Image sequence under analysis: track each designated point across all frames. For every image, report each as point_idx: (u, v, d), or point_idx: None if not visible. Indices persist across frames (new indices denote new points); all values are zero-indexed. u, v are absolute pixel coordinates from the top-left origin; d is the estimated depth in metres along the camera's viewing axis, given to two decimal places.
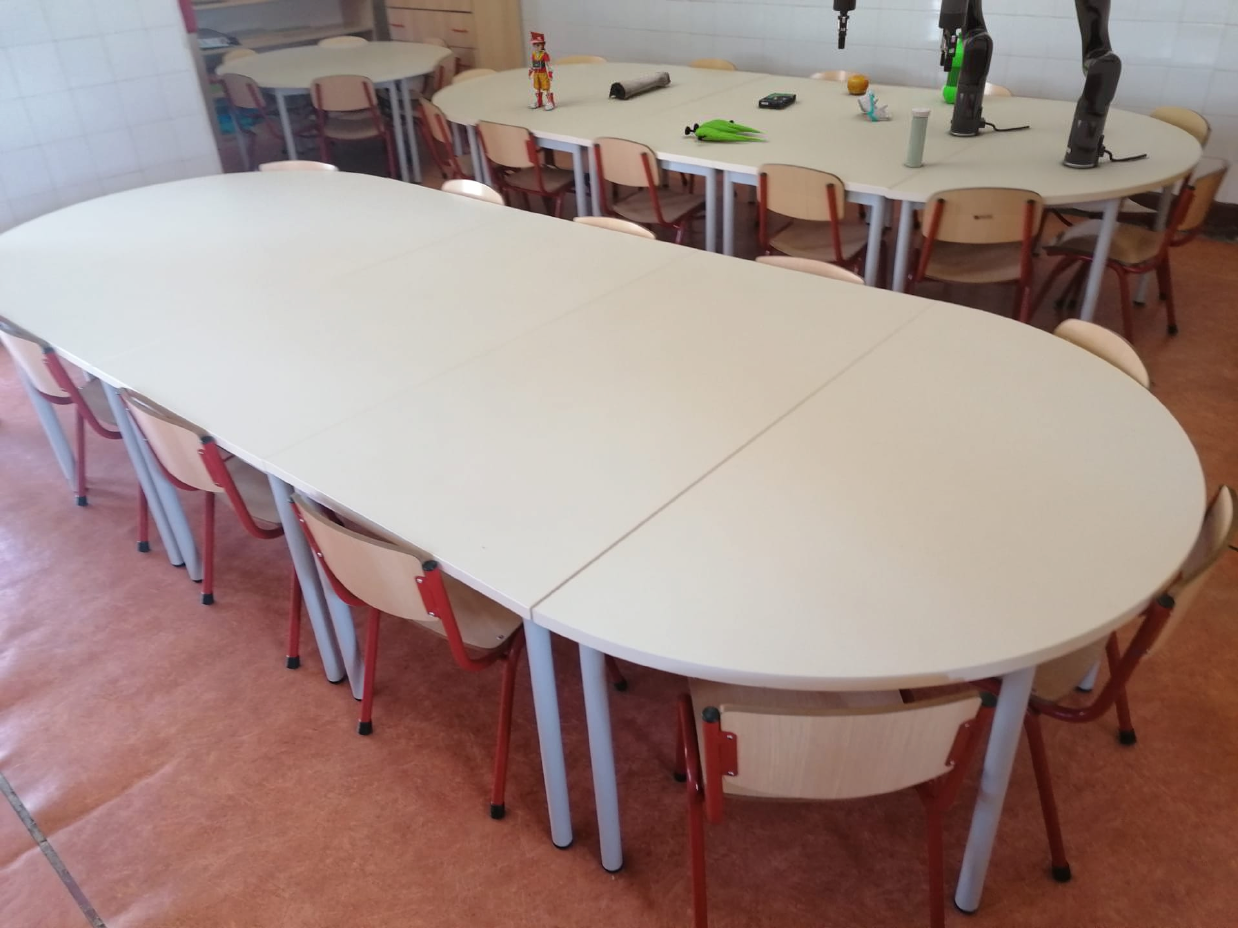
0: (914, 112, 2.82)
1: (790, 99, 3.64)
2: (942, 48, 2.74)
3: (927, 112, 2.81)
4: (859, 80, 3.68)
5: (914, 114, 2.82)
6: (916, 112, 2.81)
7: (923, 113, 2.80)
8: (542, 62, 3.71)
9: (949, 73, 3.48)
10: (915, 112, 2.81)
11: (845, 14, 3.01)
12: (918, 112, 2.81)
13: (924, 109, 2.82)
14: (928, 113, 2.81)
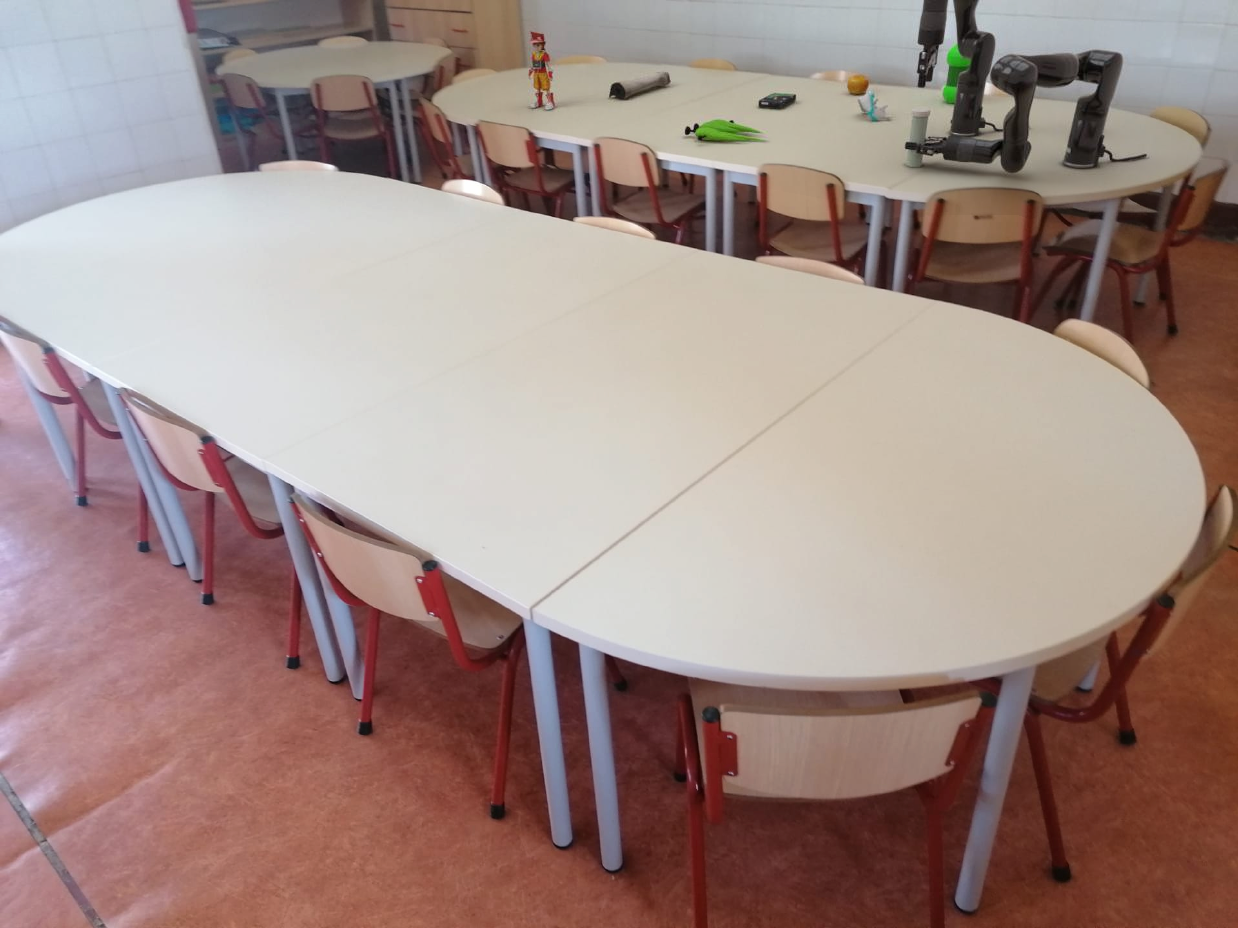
0: (914, 112, 2.82)
1: (790, 99, 3.64)
2: (922, 150, 2.86)
3: (927, 112, 2.81)
4: (859, 80, 3.68)
5: (914, 114, 2.82)
6: (916, 112, 2.81)
7: (923, 113, 2.80)
8: (542, 62, 3.71)
9: (949, 73, 3.48)
10: (915, 112, 2.81)
11: None
12: (918, 112, 2.81)
13: (924, 109, 2.82)
14: (928, 113, 2.81)
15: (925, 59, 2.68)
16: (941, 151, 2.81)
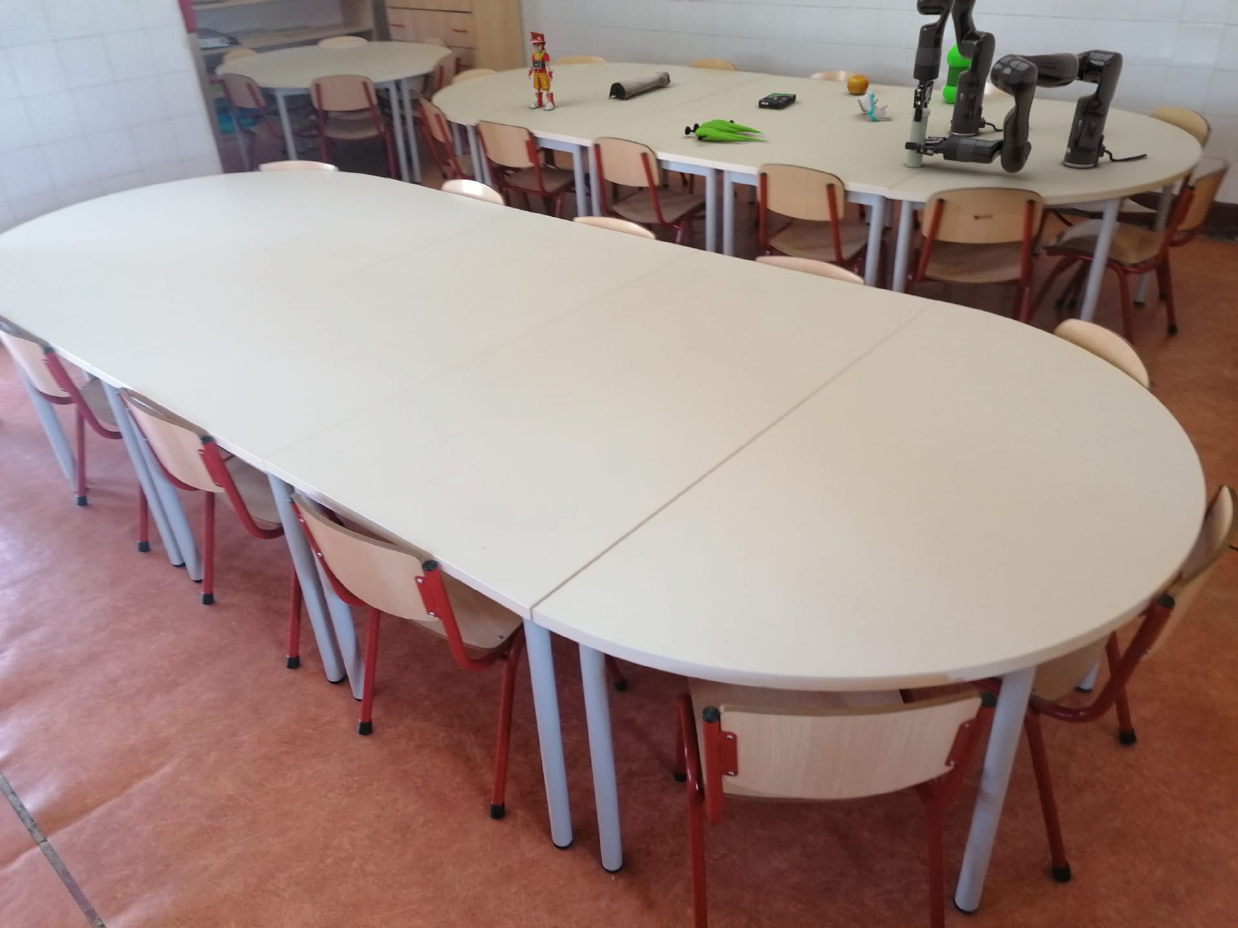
0: (914, 112, 2.82)
1: (790, 99, 3.64)
2: (922, 150, 2.86)
3: (927, 112, 2.81)
4: (859, 80, 3.68)
5: (914, 114, 2.82)
6: None
7: (923, 113, 2.80)
8: (542, 62, 3.71)
9: (949, 73, 3.48)
10: None
11: None
12: None
13: (924, 109, 2.82)
14: (928, 113, 2.81)
15: (920, 96, 2.74)
16: (941, 151, 2.81)
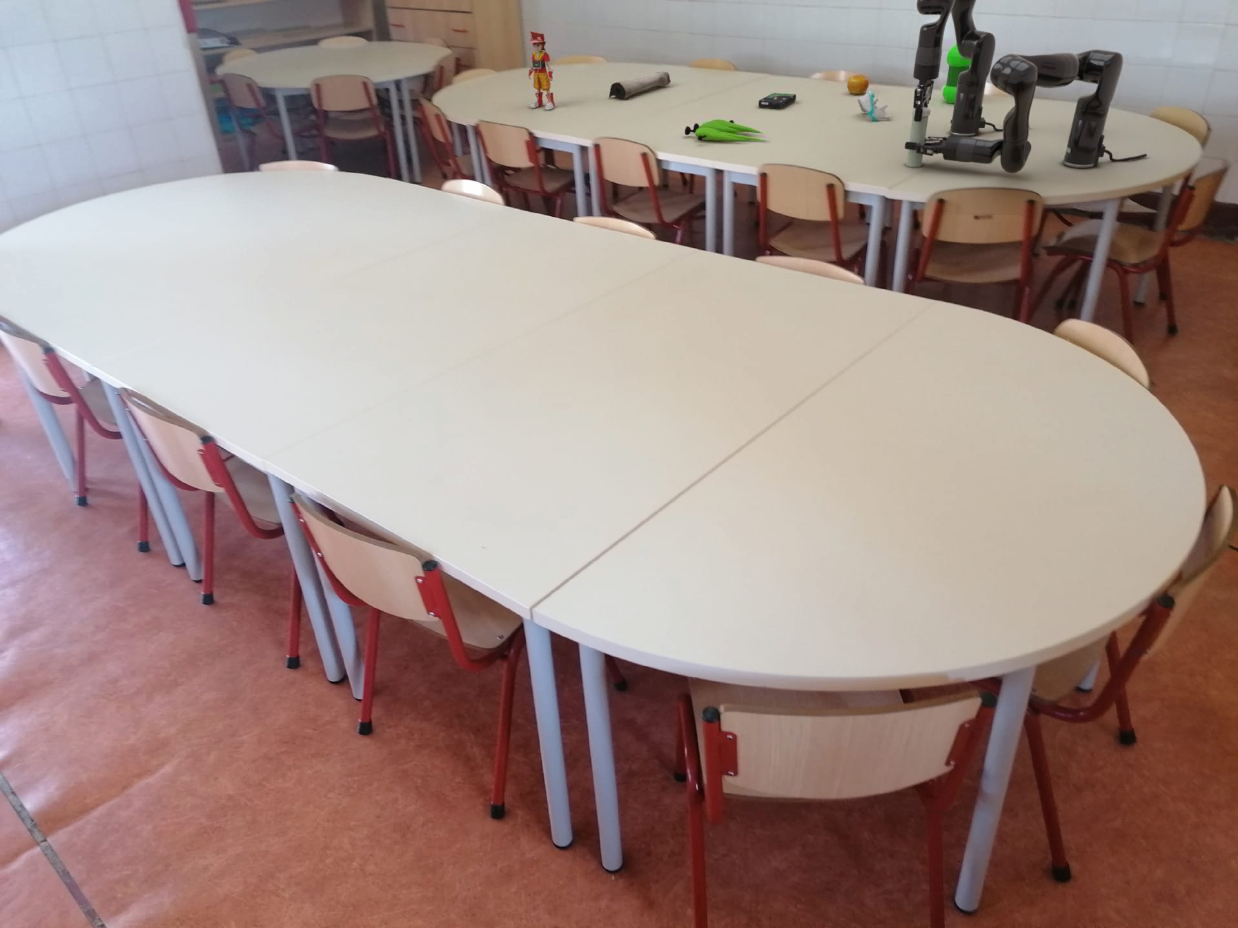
0: (927, 112, 2.80)
1: (790, 99, 3.64)
2: (922, 150, 2.86)
3: None
4: (859, 80, 3.68)
5: (927, 114, 2.81)
6: (928, 111, 2.81)
7: None
8: (542, 62, 3.71)
9: (949, 73, 3.48)
10: (928, 111, 2.81)
11: None
12: (929, 110, 2.81)
13: None
14: None
15: (920, 96, 2.74)
16: (941, 151, 2.82)
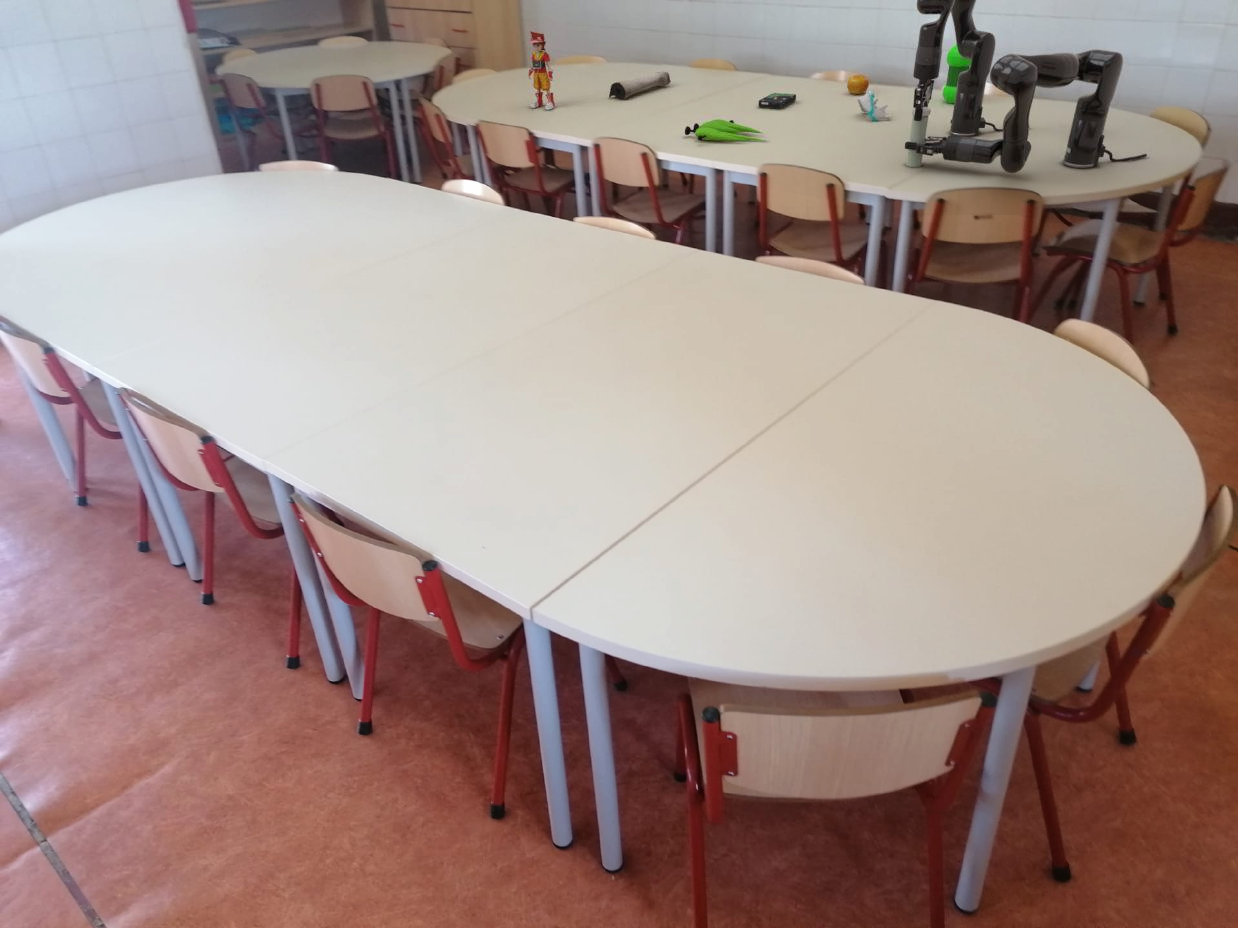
0: None
1: (790, 99, 3.64)
2: (922, 150, 2.86)
3: None
4: (859, 80, 3.68)
5: None
6: None
7: None
8: (542, 62, 3.71)
9: (949, 73, 3.48)
10: None
11: None
12: None
13: None
14: None
15: (920, 95, 2.74)
16: (941, 151, 2.82)
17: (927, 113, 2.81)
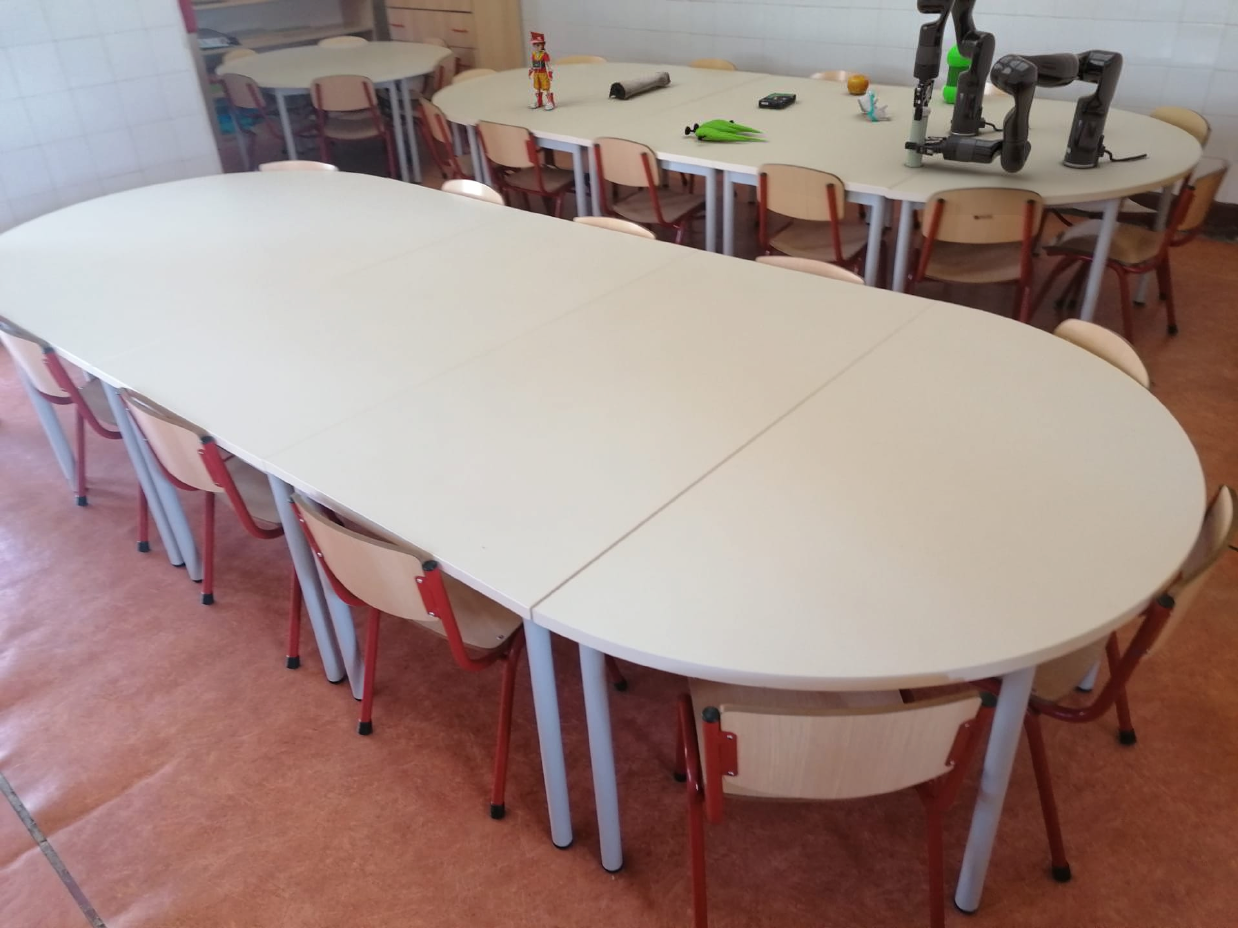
0: None
1: (790, 99, 3.64)
2: (922, 150, 2.86)
3: None
4: (859, 80, 3.68)
5: None
6: None
7: (913, 110, 2.82)
8: (542, 62, 3.71)
9: (949, 73, 3.48)
10: None
11: None
12: (913, 108, 2.83)
13: None
14: None
15: (920, 95, 2.74)
16: (941, 151, 2.82)
17: None
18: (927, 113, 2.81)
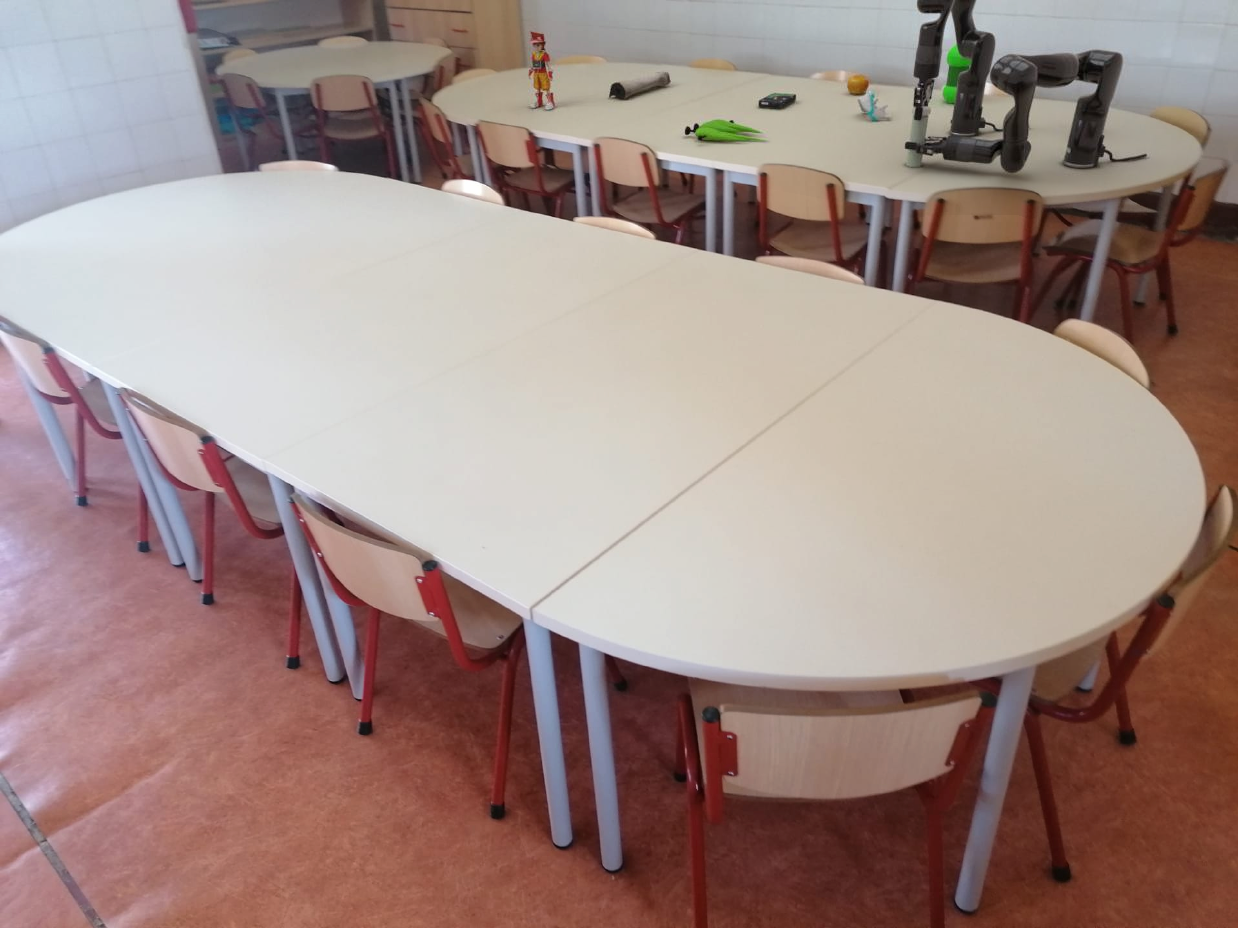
0: None
1: (790, 99, 3.64)
2: (922, 150, 2.86)
3: (928, 110, 2.80)
4: (859, 80, 3.68)
5: None
6: None
7: (924, 111, 2.80)
8: (542, 62, 3.71)
9: (949, 73, 3.48)
10: None
11: None
12: None
13: (924, 107, 2.82)
14: (929, 111, 2.81)
15: (920, 94, 2.74)
16: (941, 151, 2.82)
17: None
18: None
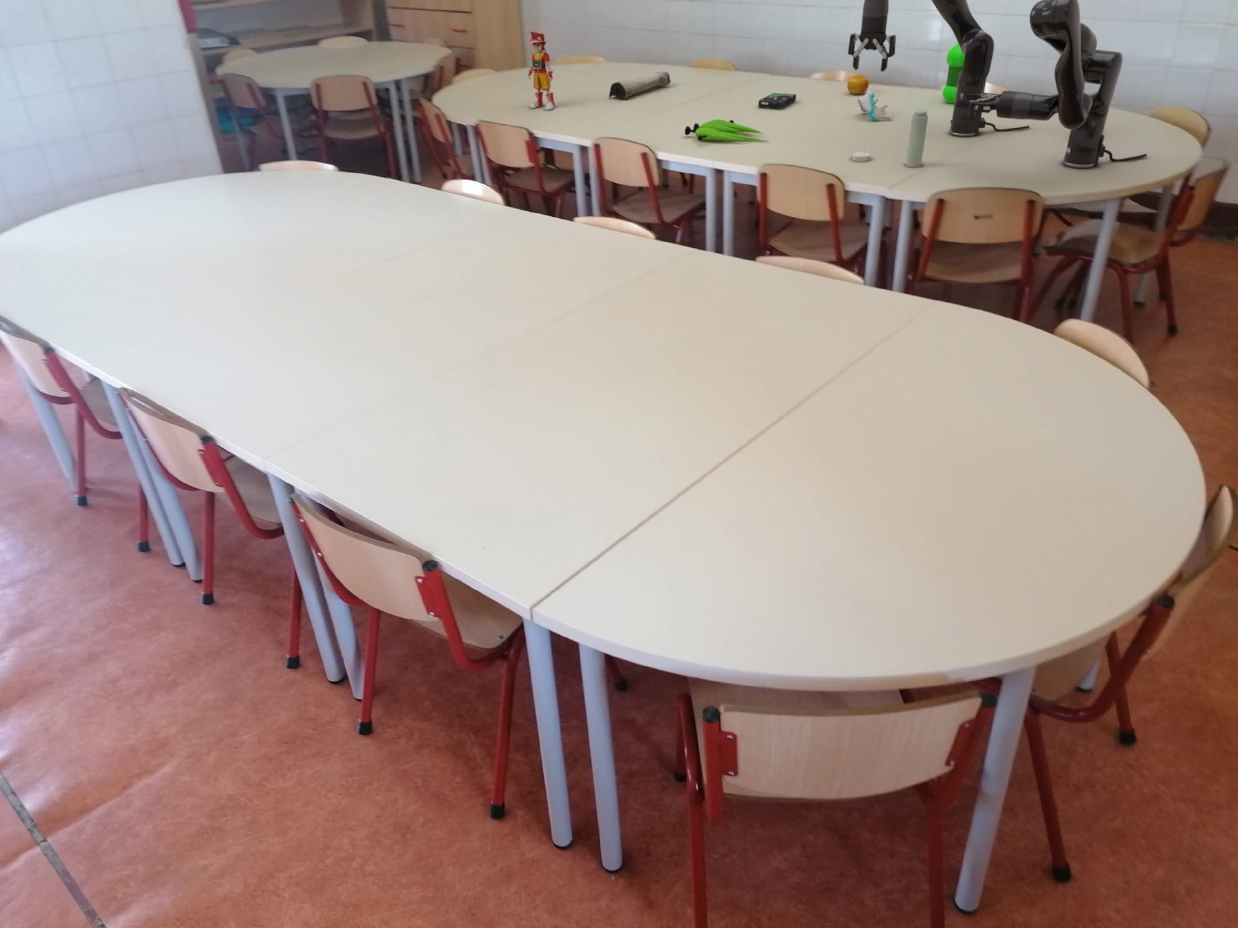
0: None
1: (790, 99, 3.64)
2: None
3: None
4: (859, 80, 3.68)
5: None
6: None
7: None
8: (542, 62, 3.71)
9: (949, 73, 3.48)
10: None
11: None
12: None
13: (858, 154, 2.99)
14: None
15: (895, 41, 2.77)
16: (995, 107, 2.66)
17: (866, 158, 2.98)
18: (854, 159, 2.99)
